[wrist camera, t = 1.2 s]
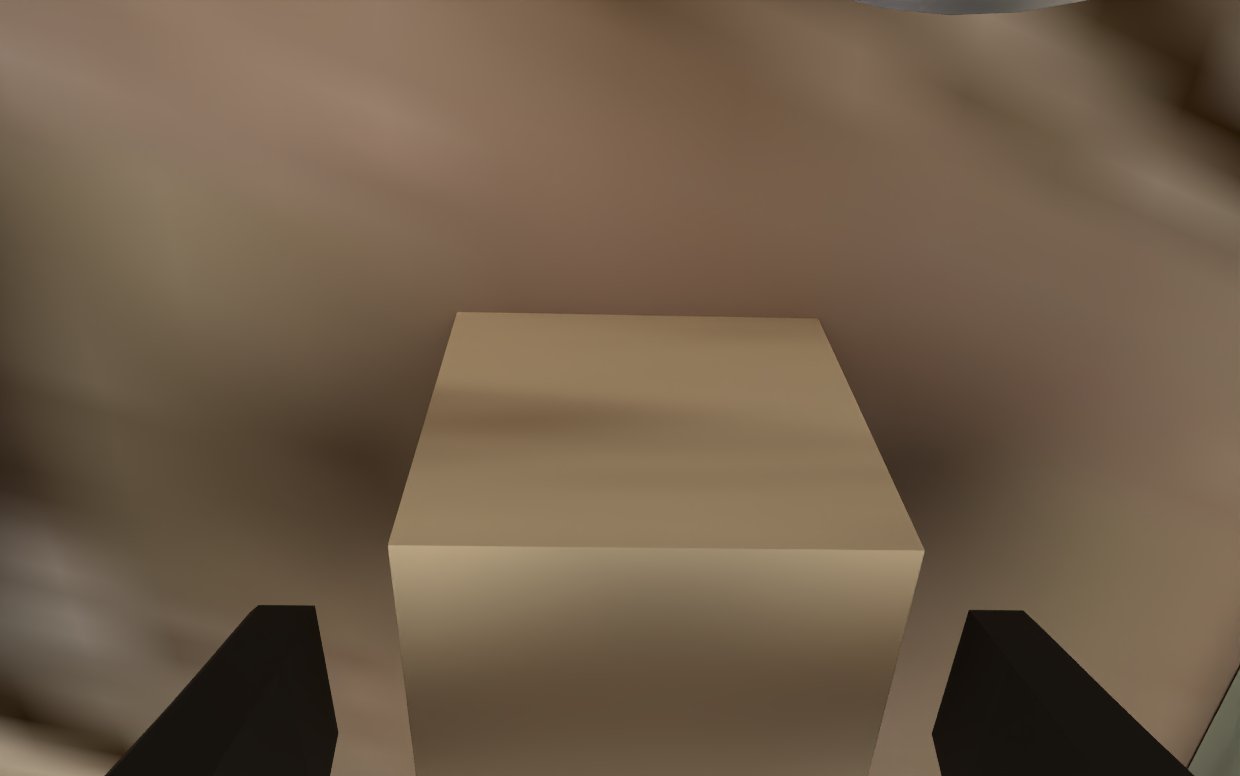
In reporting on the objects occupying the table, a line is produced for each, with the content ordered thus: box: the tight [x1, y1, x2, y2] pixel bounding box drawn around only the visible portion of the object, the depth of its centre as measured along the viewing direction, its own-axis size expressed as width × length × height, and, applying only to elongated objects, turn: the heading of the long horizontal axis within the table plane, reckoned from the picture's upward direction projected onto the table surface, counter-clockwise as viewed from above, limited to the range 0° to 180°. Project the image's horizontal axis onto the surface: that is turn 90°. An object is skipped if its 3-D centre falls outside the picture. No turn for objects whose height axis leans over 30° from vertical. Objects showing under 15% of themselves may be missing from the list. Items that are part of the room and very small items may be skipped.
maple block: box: [388, 312, 925, 776], centre depth 12 cm, size 5×5×5 cm
